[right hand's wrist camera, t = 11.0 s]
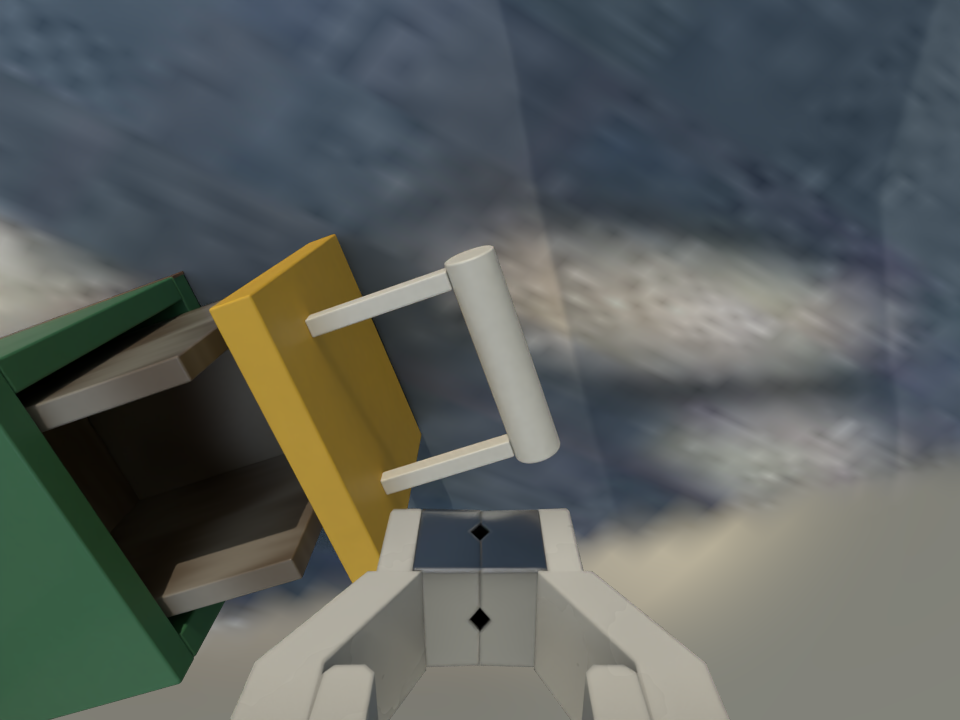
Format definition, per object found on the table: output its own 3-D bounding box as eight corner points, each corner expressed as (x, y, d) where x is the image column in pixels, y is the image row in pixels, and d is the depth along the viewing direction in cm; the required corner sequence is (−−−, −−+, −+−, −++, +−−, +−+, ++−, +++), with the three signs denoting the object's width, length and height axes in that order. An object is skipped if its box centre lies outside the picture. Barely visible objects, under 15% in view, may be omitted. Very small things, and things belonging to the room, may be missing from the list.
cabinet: (182, 271, 26) (-37, 374, 15) (292, 478, 29) (182, 684, 18) (-109, 377, 28) (-497, 540, 17) (29, 561, 31) (-215, 794, 20)
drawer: (478, 181, 24) (477, 213, 14) (549, 394, 27) (586, 529, 18) (43, 339, 26) (-193, 452, 17) (157, 518, 29) (11, 694, 20)
